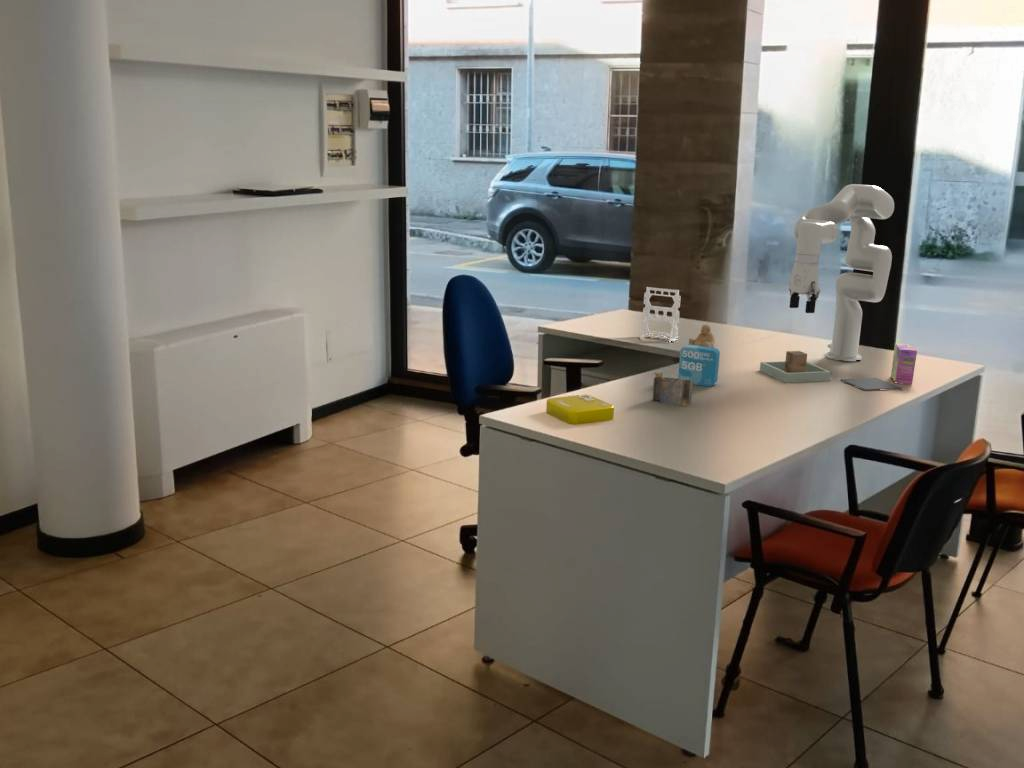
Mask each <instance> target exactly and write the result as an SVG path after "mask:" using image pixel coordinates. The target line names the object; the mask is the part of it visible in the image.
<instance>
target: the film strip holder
mask: <svg viewBox="0 0 1024 768" xmlns="http://www.w3.org/2000/svg"><path fill="white" fill-rule="evenodd" d="M651 291H654V293H651ZM657 292H660V294H659V293H657ZM664 292H666V293H668V294H664ZM671 293H674V295H671ZM643 294H644V295H643V305H644V306H645V307H643V309H642V320H643V322H642V323H641V324H642V326H641V333H640V336H641V337H643V336H644V335H647V334H648V333H650V334H652V336H653V334H658V336H655V337H660V334H661V335H663V336H664V337H662V338H667V337H666V336H667V335H668V336H670V338H668V339H669V340H668V341H669V342H671V341H675V340H677V341H678V339H676V338H678V337H679V336H678V335H679V326H677V324H679V321H680V311H679V310H678V309H679V308H680V307H681V299H682V298H681V296H682V295H680V290H679V289H671V288H659V287H652V286H651V287H650V286H646V291H645V292H644V293H643ZM652 296H659V297H660V296H661V297H669V298H672V300H673V304H672V306H671V307H667V306H659V305H657V306H656V305H652V304H651V302H650V299H651V297H652ZM652 310H653V311H654V316H652V315H651V314H650V311H652ZM659 312H663V316H662V317H661V316H659ZM668 312H670V313H671V317H668V316H667V314H668ZM650 321H654V322H664V323H670V325H671V328H670V332H662V331H655V330H653V331H652V330H650V329H649V326H648V325H649V323H650ZM649 336H650V335H649ZM671 337H672V338H671Z"/></svg>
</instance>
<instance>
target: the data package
mask: <svg viewBox="0 0 1024 768" xmlns="http://www.w3.org/2000/svg"><path fill="white" fill-rule="evenodd" d="M720 355H721V352H720V350H719V349H718V348H717V347H714V348H711V347H703V346H695V345H688V344H685V345H684V346H683V347H681V349H680V351H679V362H678V364H679V365H678V374H677V375H678V377H677V379H684V380H692V381H693V385H696V386H704V387H712V386H714V385H715V384H716V383H717V382H718V381H719V380H718V379H719V378H718V377H719V368H720V357H721V356H720Z"/></svg>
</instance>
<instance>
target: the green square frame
mask: <svg viewBox="0 0 1024 768" xmlns="http://www.w3.org/2000/svg"><path fill="white" fill-rule="evenodd" d="M785 361H786V360H785ZM785 361H783V360H781V361H760V364H759V371H761V372H763V373H764V374H767V375H769V376H771V377H773V378H775V379H778V380H780V381H782V382H784V383H802V382H808V383H809V382H827V381H828V382H829V381H830V382H831V378H832V371H830V370H828V369H825V368H823V367H821V366H817V365H815V364H814V363H811V362H808V361H807V362H806V371H805V372H796V373H787V372H785Z"/></svg>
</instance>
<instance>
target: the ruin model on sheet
mask: <svg viewBox="0 0 1024 768" xmlns="http://www.w3.org/2000/svg"><path fill="white" fill-rule="evenodd" d="M654 374H655V376H654V377H653V385H652V386H653V387H652V388H653V389H652V402H654V401H655V400H656V401H659V403H665V404H671V405H680V406H687V407H688V406H689V407H690V406H691V405H692V396H693V385H694V384H693V381H692V380H684V379H678V378H673V377H666V376H663V372H656V371H654Z"/></svg>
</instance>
